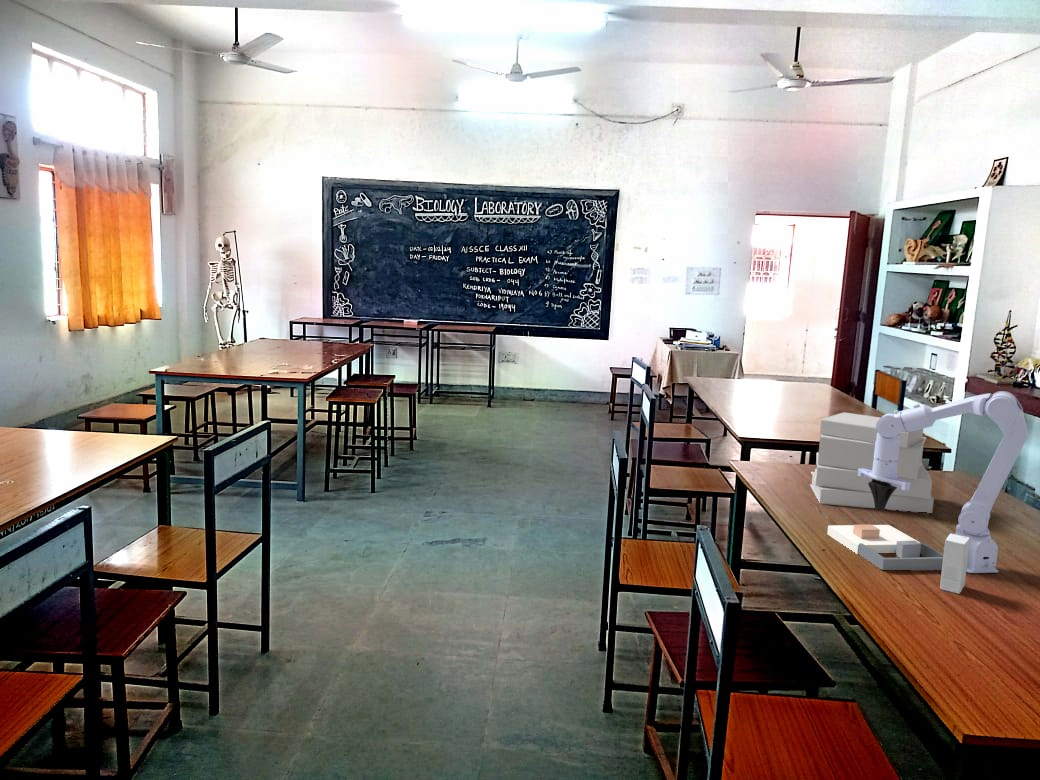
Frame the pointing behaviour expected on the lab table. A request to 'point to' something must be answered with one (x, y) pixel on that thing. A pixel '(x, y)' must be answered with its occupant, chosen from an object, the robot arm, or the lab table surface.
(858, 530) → the peach block
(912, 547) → the grey rectangular block
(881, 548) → the board
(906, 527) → the lab table surface
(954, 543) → the skincare box
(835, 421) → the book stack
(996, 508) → the lab table surface
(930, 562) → the grey rectangular frame
